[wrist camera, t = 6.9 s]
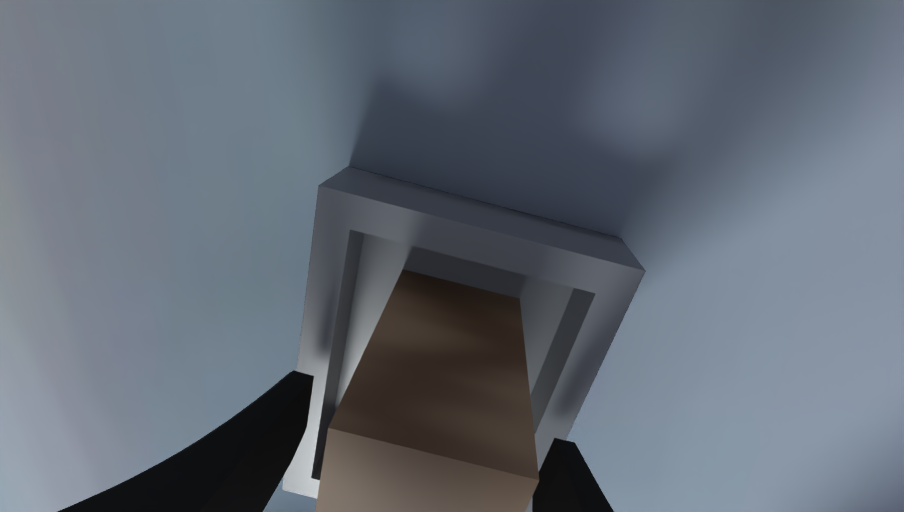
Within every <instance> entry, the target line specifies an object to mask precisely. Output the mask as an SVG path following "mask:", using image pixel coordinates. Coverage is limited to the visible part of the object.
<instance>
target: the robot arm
mask: <svg viewBox="0 0 904 512" xmlns="http://www.w3.org/2000/svg"><path fill="white" fill-rule="evenodd" d="M313 380H314V376H313V375H309V374H305V373H301V372H297V371H292V372H290V373H289V374H288V375H286V376H285V377H284V378H283V379H282V380H280V381H279V382H278V383H277V384H276V385H274V386H273V387H272V388H271V389H269V390H268V391H267V392H266V393H264V394H263V395H262V396H260V397H259V398H258V399H257V400H255V401H254V402H253V403H251V404H250V405H249V406H247V407H246V408H245V409H243V410H242V411H241V412H239V413H238V414H236V415H235V416H234V417H232V418H231V419H230V420H228V421H227V422H225V423H224V424H222V425H221V426H219V427H218V428H216V429H215V430H213V431H212V432H210V433H209V434H207V435H206V436H204V437H203V438H201V439H200V440H198V441H196V442H195V443H193V444H192V445H190V446H188V447H187V448H185V449H183V450H182V451H180V452H178V453H177V454H175V455H173V456H171V457H170V458H168V459H166V460H164V461H163V462H161V463H159V464H157V465H155V466H153V467H151V468H150V469H148V470H146V471H144V472H142V473H140V474H138V475H136V476H134V477H133V478H131V479H129V480H127V481H124V482H122V483H120V484H118V485H116V486H114V487H112V488H110V489H108V490H106V491H103V492H101V493H99V494H97V495H94V496H92V497H90V498H88V499H85V500H83V501H81V502H79V503H76V504H74V505H72V506H70V507H67V508H65V509H63V510H60V511H58V512H263V510H264V508H265V507H266V505H267V503H268V501H269V500H270V498H271V496H272V495H273V493H274V491H275V490H276V488H277V486H278V484H279V483H280V481H281V479H282V477H283V476H284V474H285V472H286V471H287V469H288V467H289V465H290V464H291V462H292V460H293V458H294V455H295V453H296V451H297V449H298V447H299V444H300V442H301V440H302V438H303V435H304V433H305V431H306V428H307V423H308V416H309V409H310V402H311V394H312V387H313ZM532 512H614V511H613V509H612V508H611V506H610V504H609V503H608V501H607V499H606V498H605V496H604V494H603V492H602V491H601V489H600V487H599V485H598V484H597V482H596V480H595V478H594V477H593V475H592V473H591V471H590V469H589V467H588V466H587V464H586V462H585V460H584V458H583V457H582V455H581V453H580V451H579V449H578V448H577V446H576V444H575V443H574V442H570V441H566V440H562V439H558V438H554V440H553V442H552V444H551V446H550V448H549V451H548V453H547V455H546V457H545V459H544V462H543V464H542V466H541V468H540V470H539V482H538V485H537V487H536V489H535V491H534V493H533V496H532Z"/></svg>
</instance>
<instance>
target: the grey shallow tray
mask: <svg viewBox="0 0 904 512" xmlns="http://www.w3.org/2000/svg"><path fill="white" fill-rule="evenodd" d="M402 269H404V270H408V271H412V272H416V273H420V274H424V275H428V276H432V277H436V278H440V279H444V280H448V281H452V282H456V283H460V284H464V285H468V286H472V287H476V288H480V289H484V290H487V291H491V292H495V293H499V294H503V295H507V296H511V297H515V298H519V299H520V305H521V315H522V324H523V333H524V342H525V352H526V361H527V370H528V380H529V389H530V398H531V407H532V417H533V426H534V435H535V445H536V454H537V463H538V472H539V470H540V468H541V466H542V464H543V462H544V459H545V457H546V455H547V453H548V451H549V448H550V446H551V444H552V442H553V440H554V438H558V439H562V440H566V438H567V436H568V434H569V432H570V430H571V428H572V425H573V423H574V421H575V419H576V417H577V415H578V413H579V411H580V409H581V406H582V404H583V402H584V400H585V398H586V396H587V394H588V392H589V390H590V387H591V385H592V383H593V381H594V379H595V377H596V375H597V373H598V370H599V368H600V366H601V364H602V362H603V360H604V358H605V356H606V354H607V351H608V349H609V347H610V345H611V343H612V341H613V339H614V337H615V335H616V332H617V330H618V328H619V326H620V324H621V322H622V320H623V318H624V315H625V313H626V311H627V309H628V307H629V305H630V303H631V301H632V299H633V296H634V294H635V292H636V290H637V288H638V286H639V284H640V282H641V280H642V277H643V275H644V273H645V270H644V268H643V267H642V266H641V264H640V263H639V262H638V260H637V259H636V258H635V256H634V255H633V254H632V252H631V251H630V250H629V248H628V247H627V246H626V244H625V243H624V242H623V240H622V239H621V238H618V237H614V236H611V235H607V234H603V233H599V232H595V231H591V230H588V229H584V228H580V227H576V226H572V225H569V224H565V223H561V222H557V221H553V220H550V219H546V218H542V217H538V216H534V215H530V214H527V213H523V212H519V211H515V210H511V209H508V208H504V207H500V206H496V205H492V204H489V203H485V202H481V201H477V200H473V199H469V198H466V197H462V196H458V195H454V194H450V193H447V192H443V191H439V190H435V189H431V188H428V187H424V186H420V185H416V184H412V183H408V182H405V181H401V180H397V179H393V178H389V177H386V176H382V175H378V174H374V173H370V172H367V171H363V170H359V169H355V168H351V167H347V168H345V169H343V170H342V171H340V172H339V173H337V174H336V175H334V176H333V177H331V178H329V179H328V180H326V181H325V182H323V183H322V184H320V185H319V187H318V195H317V204H316V212H315V220H314V229H313V237H312V245H311V254H310V262H309V271H308V279H307V287H306V296H305V304H304V312H303V321H302V329H301V338H300V346H299V354H298V363H297V372H301V373H305V374H309V375H313V376H314V380H313V387H312V394H311V402H310V409H309V416H308V423H307V428H306V431H305V433H304V435H303V438H302V440H301V442H300V444H299V447H298V449H297V451H296V453H295V455H294V458H293V460H292V462H291V464H290V465H289V467H288V469H287V471H286V472H285V474H284V480H283V488H282V490H285V491H289V492H293V493H297V494H301V495H305V496H309V497H312V498H316V499H317V496H318V490H319V484H320V477H321V471H322V464H323V458H324V452H325V445H326V439H327V432H328V427H329V425H330V423H331V421H332V419H333V417H334V414H335V412H336V410H337V408H338V406H339V404H340V402H341V399H342V397H343V395H344V393H345V391H346V389H347V387H348V385H349V382H350V380H351V378H352V376H353V374H354V372H355V370H356V367H357V365H358V363H359V361H360V359H361V357H362V355H363V353H364V350H365V348H366V346H367V344H368V342H369V340H370V338H371V336H372V333H373V331H374V329H375V327H376V325H377V323H378V321H379V318H380V316H381V314H382V312H383V310H384V308H385V306H386V304H387V301H388V299H389V297H390V295H391V293H392V291H393V289H394V286H395V284H396V282H397V280H398V278H399V276H400V274H401V272H402ZM525 512H532V498H531V500H530V502H529V505H528V507H527V509H526V511H525Z"/></svg>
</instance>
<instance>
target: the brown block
mask: <svg viewBox="0 0 904 512" xmlns="http://www.w3.org/2000/svg"><path fill="white" fill-rule="evenodd" d="M538 482H539V472H538V463H537V454H536V445H535V435H534V426H533V417H532V407H531V398H530V389H529V380H528V370H527V361H526V352H525V342H524V333H523V324H522V315H521V305H520V299H519V298H515V297H511V296H507V295H503V294H499V293H495V292H491V291H487V290H484V289H480V288H476V287H472V286H468V285H464V284H460V283H456V282H452V281H448V280H444V279H440V278H436V277H432V276H428V275H424V274H420V273H416V272H412V271H408V270H404V269H402V272H401V274H400V276H399V278H398V280H397V282H396V284H395V286H394V289H393V291H392V293H391V295H390V297H389V299H388V301H387V304H386V306H385V308H384V310H383V312H382V314H381V316H380V318H379V321H378V323H377V325H376V327H375V329H374V331H373V333H372V336H371V338H370V340H369V342H368V344H367V346H366V348H365V350H364V353H363V355H362V357H361V359H360V361H359V363H358V365H357V367H356V370H355V372H354V374H353V376H352V378H351V380H350V382H349V385H348V387H347V389H346V391H345V393H344V395H343V397H342V399H341V402H340V404H339V406H338V408H337V410H336V412H335V414H334V417H333V419H332V421H331V423H330V425H329V427H328V432H327V439H326V445H325V452H324V458H323V464H322V471H321V477H320V484H319V490H318V496H317V503H316V509H315V512H525V511H526V509H527V507H528V505H529V502H530V500H531V498H532V496H533V493H534V491H535V489H536V487H537V485H538Z"/></svg>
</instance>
